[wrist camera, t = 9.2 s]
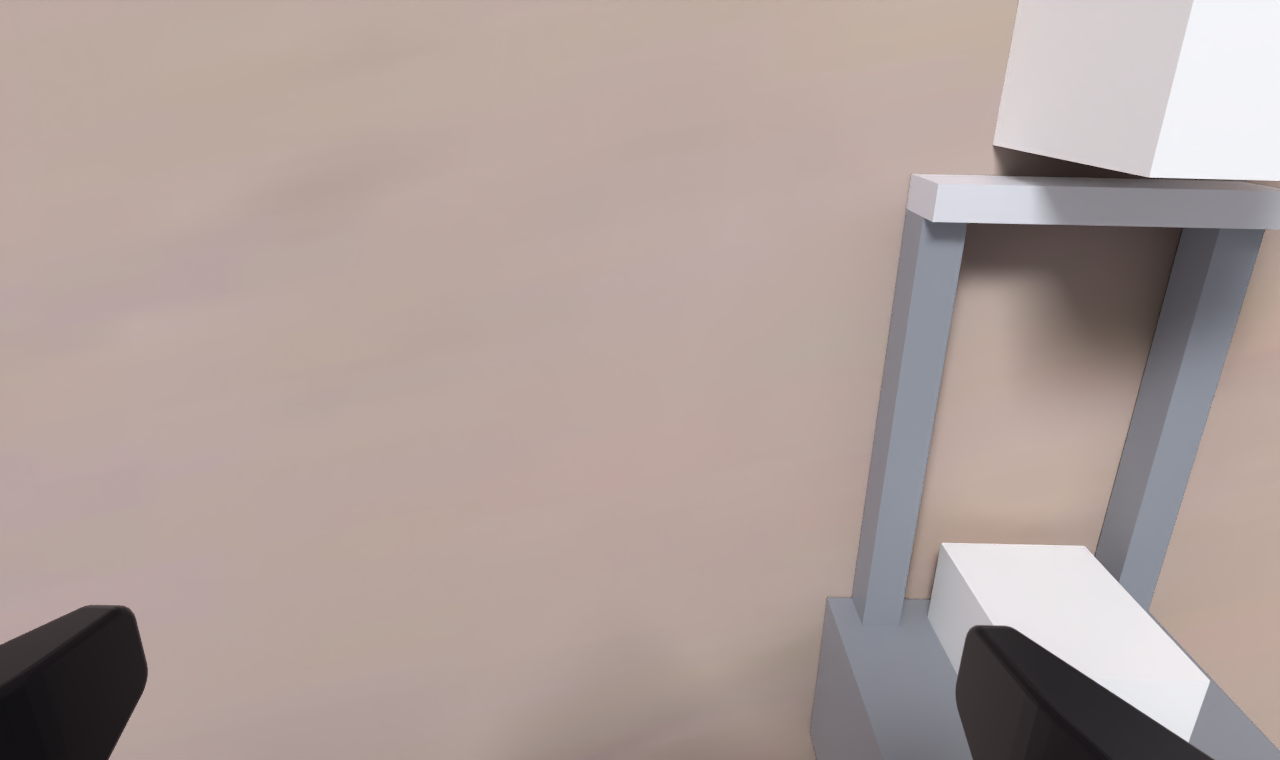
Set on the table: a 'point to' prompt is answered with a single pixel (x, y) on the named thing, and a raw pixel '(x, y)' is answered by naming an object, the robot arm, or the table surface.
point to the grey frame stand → (1039, 574)
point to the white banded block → (1147, 86)
